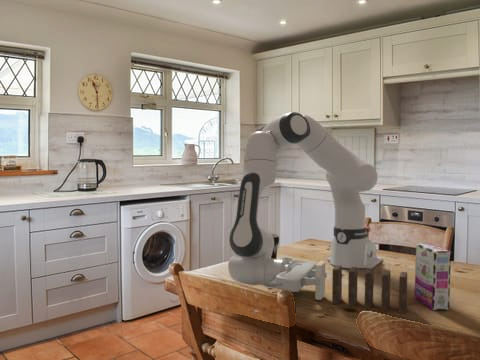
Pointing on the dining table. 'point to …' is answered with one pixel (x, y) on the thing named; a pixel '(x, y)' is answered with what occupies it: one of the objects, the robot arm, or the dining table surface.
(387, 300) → the domino
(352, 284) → the domino
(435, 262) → the candy bar box
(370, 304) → the domino
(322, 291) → the ivory domino
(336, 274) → the domino
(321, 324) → the dining table surface
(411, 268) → the dining table surface
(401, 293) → the domino
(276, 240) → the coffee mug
